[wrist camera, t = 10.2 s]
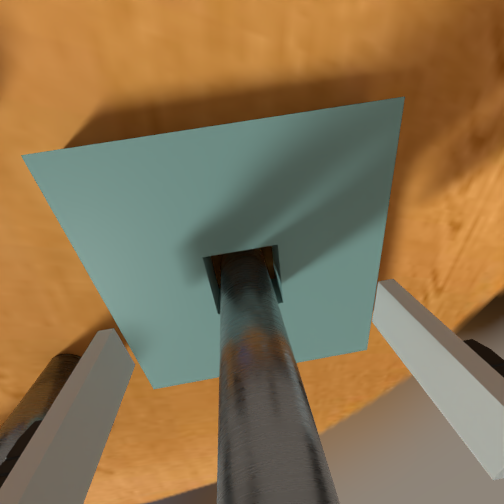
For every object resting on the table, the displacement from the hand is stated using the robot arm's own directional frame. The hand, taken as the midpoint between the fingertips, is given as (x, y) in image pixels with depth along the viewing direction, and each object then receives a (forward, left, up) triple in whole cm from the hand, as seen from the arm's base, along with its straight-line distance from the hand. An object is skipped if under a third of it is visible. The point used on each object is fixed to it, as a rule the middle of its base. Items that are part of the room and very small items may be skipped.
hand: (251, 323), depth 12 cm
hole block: (0, 0, -7) cm, 7 cm away
